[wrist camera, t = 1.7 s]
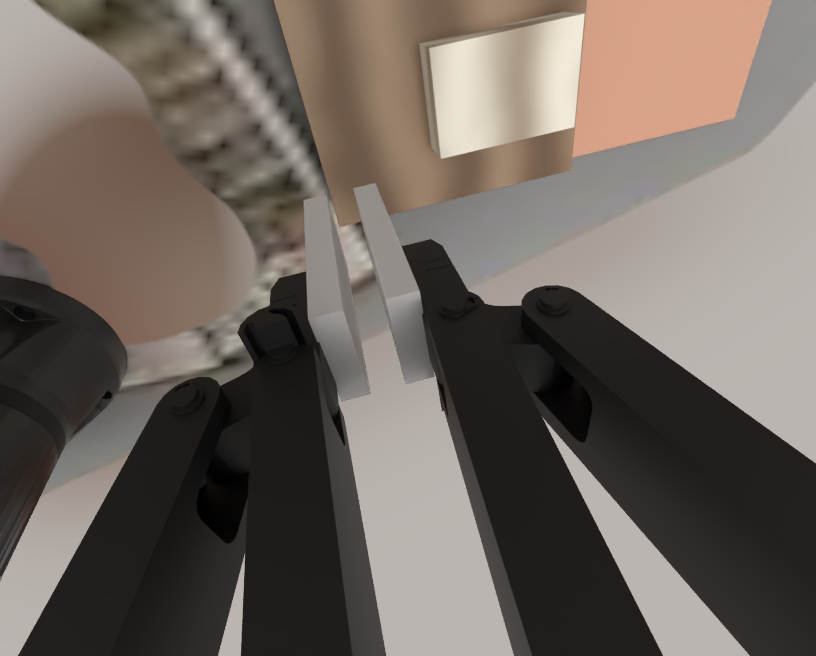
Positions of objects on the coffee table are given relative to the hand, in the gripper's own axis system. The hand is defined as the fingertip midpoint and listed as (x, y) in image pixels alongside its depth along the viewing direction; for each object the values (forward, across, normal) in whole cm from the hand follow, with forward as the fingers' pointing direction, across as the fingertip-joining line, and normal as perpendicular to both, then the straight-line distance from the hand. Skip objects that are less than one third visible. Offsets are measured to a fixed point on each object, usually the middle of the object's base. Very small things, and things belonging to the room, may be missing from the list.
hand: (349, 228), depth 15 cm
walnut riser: (+19, +8, 0) cm, 21 cm away
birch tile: (+15, +11, 0) cm, 19 cm away
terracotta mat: (+19, +26, 0) cm, 32 cm away
